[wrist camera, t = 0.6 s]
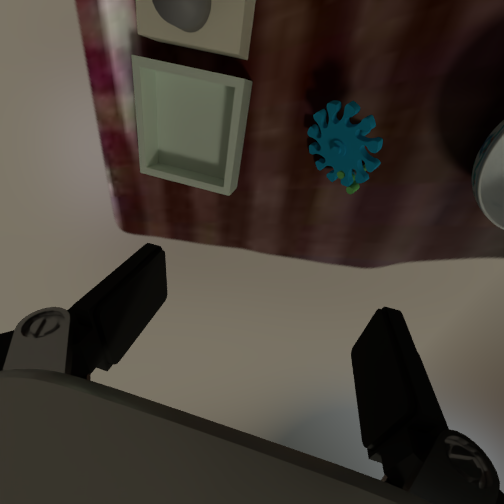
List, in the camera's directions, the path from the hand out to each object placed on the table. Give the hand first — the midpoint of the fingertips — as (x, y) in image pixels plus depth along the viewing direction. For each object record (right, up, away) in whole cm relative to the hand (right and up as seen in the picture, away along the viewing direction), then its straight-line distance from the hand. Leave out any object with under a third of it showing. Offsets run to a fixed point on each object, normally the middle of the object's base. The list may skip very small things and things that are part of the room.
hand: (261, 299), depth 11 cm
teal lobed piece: (+11, +16, +22) cm, 30 cm away
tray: (-8, +20, +24) cm, 33 cm away
